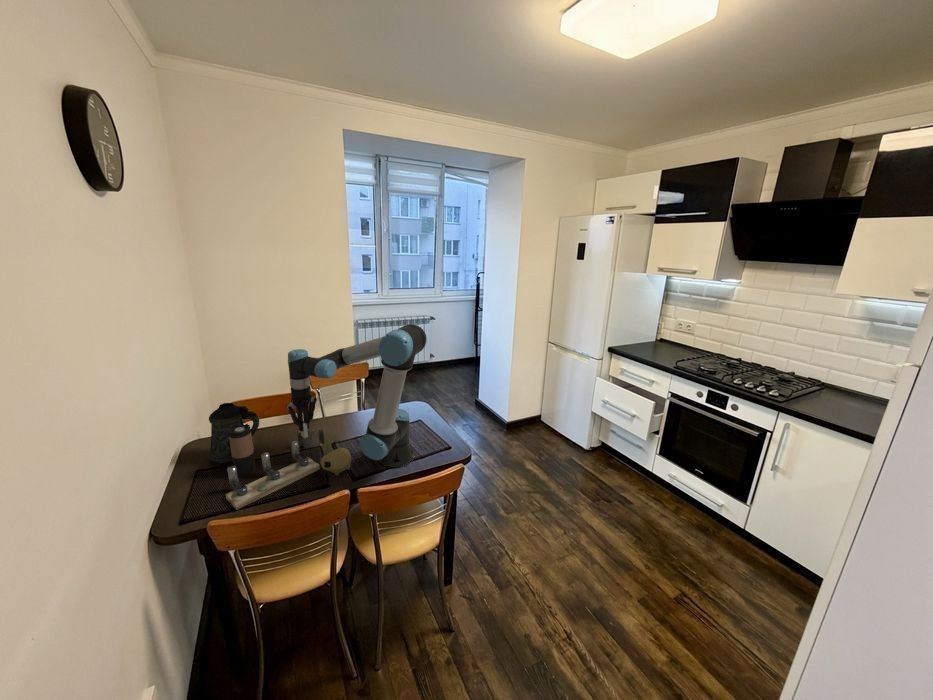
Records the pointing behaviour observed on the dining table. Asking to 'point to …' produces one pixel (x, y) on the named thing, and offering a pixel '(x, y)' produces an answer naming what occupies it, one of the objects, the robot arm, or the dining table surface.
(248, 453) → the travel mug
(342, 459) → the toy pig
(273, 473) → the grey metal hook
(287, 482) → the coat hook board
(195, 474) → the dining table surface
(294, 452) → the grey coat hook
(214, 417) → the beer stein
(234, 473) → the grey metal coat hook
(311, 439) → the grey brown upright panel
